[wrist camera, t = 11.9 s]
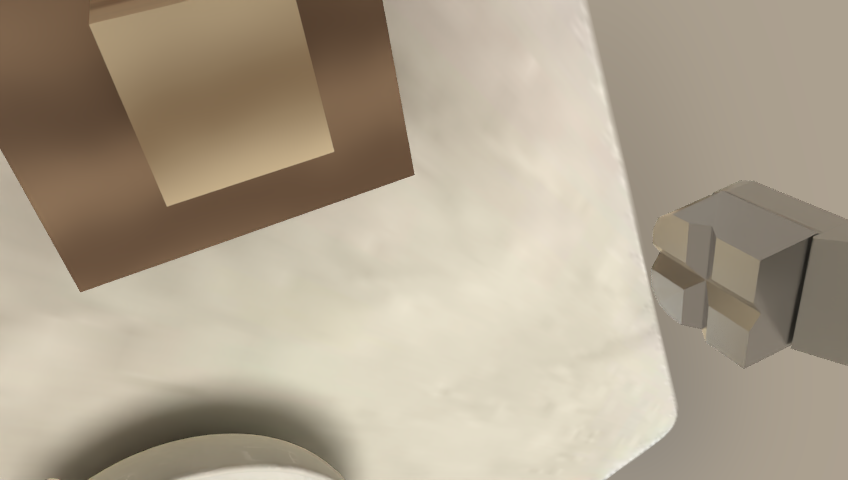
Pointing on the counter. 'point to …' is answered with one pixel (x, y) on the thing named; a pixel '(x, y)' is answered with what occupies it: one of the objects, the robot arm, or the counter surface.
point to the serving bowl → (222, 461)
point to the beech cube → (213, 88)
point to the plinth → (125, 160)
